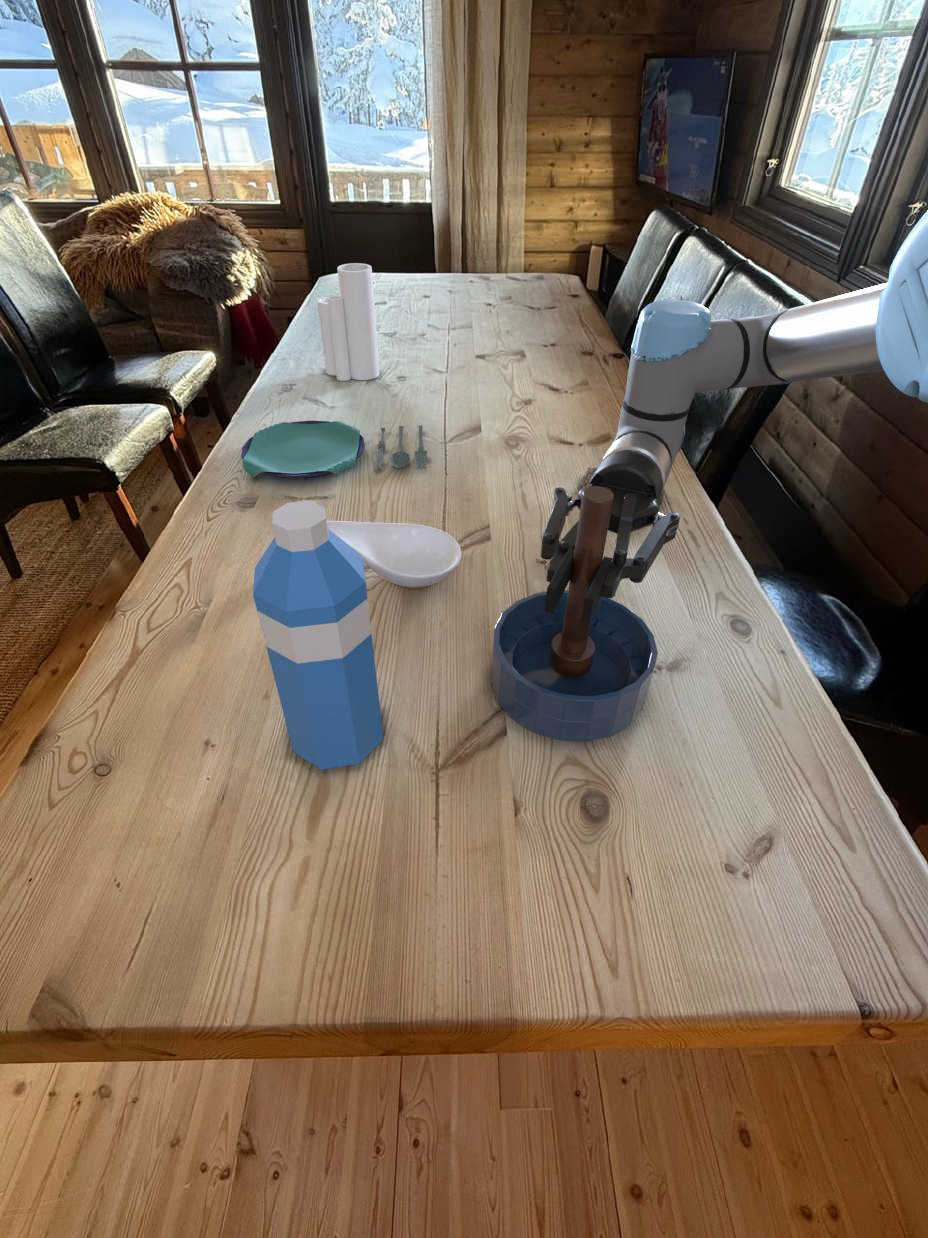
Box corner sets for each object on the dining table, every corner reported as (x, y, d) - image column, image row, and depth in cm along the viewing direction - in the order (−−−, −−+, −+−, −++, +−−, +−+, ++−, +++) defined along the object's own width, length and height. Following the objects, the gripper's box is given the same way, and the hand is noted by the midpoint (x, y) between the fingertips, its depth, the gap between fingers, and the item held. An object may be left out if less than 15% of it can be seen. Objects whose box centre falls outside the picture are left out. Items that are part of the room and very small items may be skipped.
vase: (381, 368, 139) (373, 263, 126) (377, 381, 133) (369, 272, 120) (328, 367, 139) (315, 262, 126) (321, 380, 133) (307, 271, 120)
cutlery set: (255, 431, 116) (253, 418, 114) (426, 428, 117) (425, 416, 115) (231, 488, 101) (228, 475, 99) (427, 484, 102) (427, 471, 100)
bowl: (671, 677, 71) (685, 633, 67) (593, 773, 62) (603, 728, 57) (546, 615, 79) (551, 571, 75) (460, 691, 69) (460, 646, 65)
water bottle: (311, 690, 69) (266, 477, 53) (396, 704, 68) (378, 490, 52) (274, 761, 62) (210, 541, 46) (368, 778, 61) (336, 558, 45)
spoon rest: (458, 546, 90) (459, 500, 85) (464, 600, 81) (464, 552, 76) (282, 551, 88) (273, 504, 84) (268, 607, 79) (257, 558, 75)
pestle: (599, 661, 68) (634, 492, 55) (577, 684, 66) (608, 513, 53) (564, 642, 71) (589, 475, 57) (540, 664, 68) (561, 495, 55)
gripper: (693, 525, 73) (650, 663, 57) (557, 495, 78) (482, 614, 61) (710, 464, 68) (669, 595, 52) (564, 436, 73) (485, 548, 56)
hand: (568, 605), depth 57 cm, fingers closed on pestle, 3 cm apart
